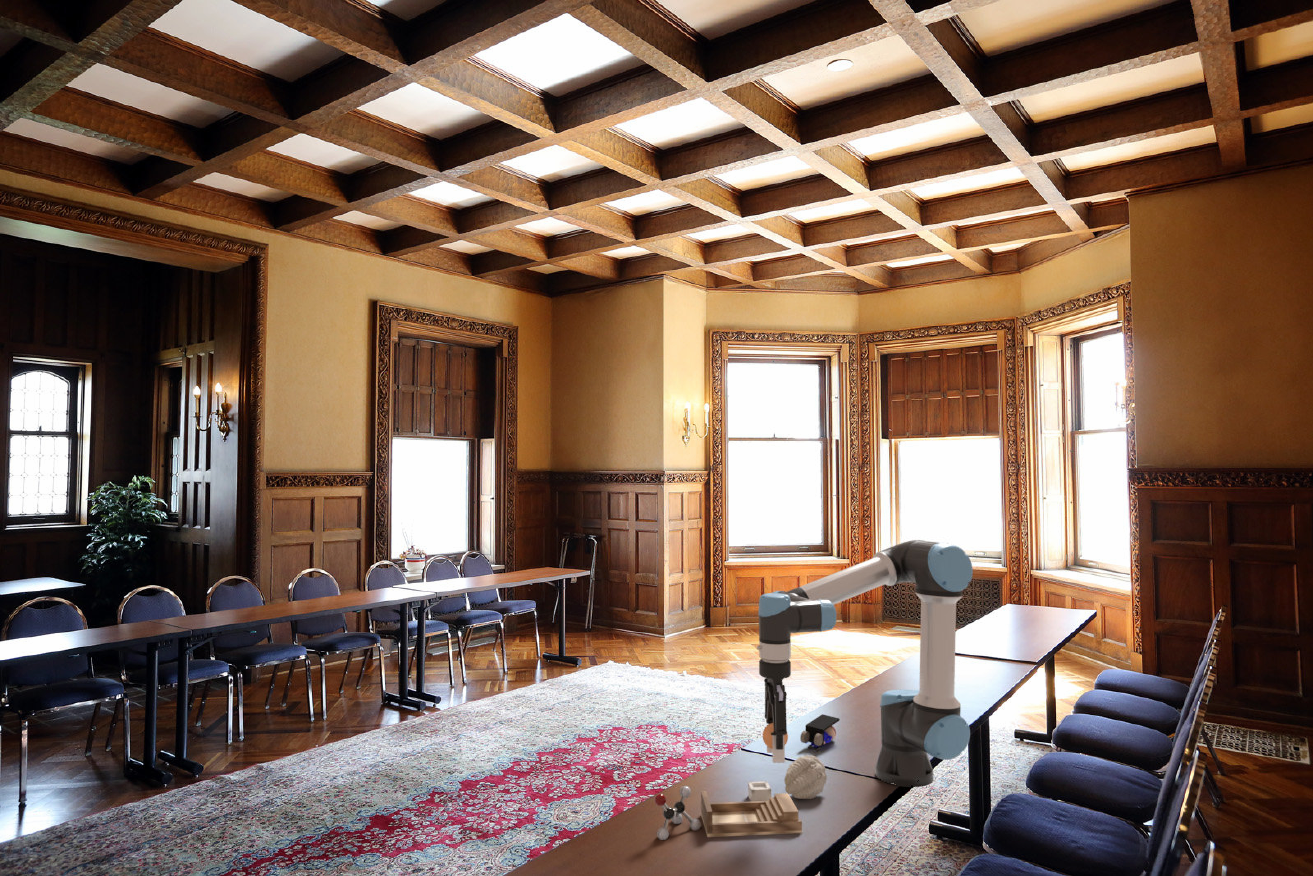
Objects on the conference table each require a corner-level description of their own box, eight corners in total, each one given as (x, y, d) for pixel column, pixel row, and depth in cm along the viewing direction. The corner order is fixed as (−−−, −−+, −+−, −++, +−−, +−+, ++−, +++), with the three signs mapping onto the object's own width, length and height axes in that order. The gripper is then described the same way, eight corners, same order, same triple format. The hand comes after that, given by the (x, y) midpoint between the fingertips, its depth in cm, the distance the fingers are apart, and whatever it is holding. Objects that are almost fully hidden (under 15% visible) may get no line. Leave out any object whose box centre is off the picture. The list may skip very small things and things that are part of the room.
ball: (784, 744, 194) (784, 719, 194) (790, 753, 188) (790, 727, 188) (760, 745, 193) (760, 719, 194) (765, 753, 188) (765, 727, 188)
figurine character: (820, 759, 237) (841, 739, 248) (818, 734, 236) (840, 715, 248) (800, 754, 241) (822, 735, 253) (798, 729, 240) (820, 711, 252)
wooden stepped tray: (790, 813, 196) (789, 787, 197) (802, 835, 184) (801, 808, 185) (701, 816, 195) (700, 790, 195) (707, 839, 183) (707, 811, 183)
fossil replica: (793, 807, 200) (792, 767, 200) (776, 795, 207) (775, 756, 208) (834, 800, 204) (833, 760, 204) (815, 788, 212) (815, 749, 212)
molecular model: (703, 830, 188) (702, 784, 188) (671, 849, 179) (670, 800, 179) (676, 820, 193) (675, 775, 193) (643, 838, 184) (643, 791, 184)
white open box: (767, 796, 207) (767, 781, 207) (771, 804, 202) (771, 789, 202) (748, 797, 206) (748, 782, 206) (751, 805, 201) (751, 790, 201)
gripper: (752, 650, 201) (752, 744, 200) (767, 669, 182) (768, 772, 181) (781, 650, 201) (782, 743, 200) (799, 668, 182) (800, 771, 181)
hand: (775, 757), depth 191 cm, fingers closed on ball, 6 cm apart
